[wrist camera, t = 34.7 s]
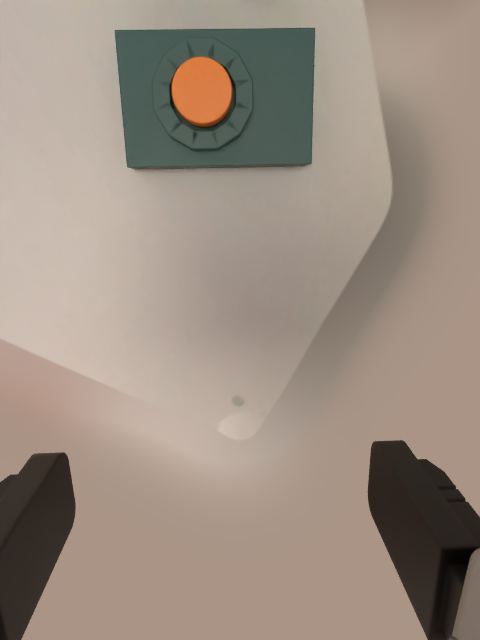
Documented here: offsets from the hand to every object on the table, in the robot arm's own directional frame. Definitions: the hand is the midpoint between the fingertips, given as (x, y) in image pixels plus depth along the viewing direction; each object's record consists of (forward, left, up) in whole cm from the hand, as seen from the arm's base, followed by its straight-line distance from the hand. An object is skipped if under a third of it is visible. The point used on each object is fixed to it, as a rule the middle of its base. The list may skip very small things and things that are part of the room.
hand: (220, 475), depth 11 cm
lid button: (+1, -14, -23) cm, 27 cm away
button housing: (0, -14, -28) cm, 31 cm away
